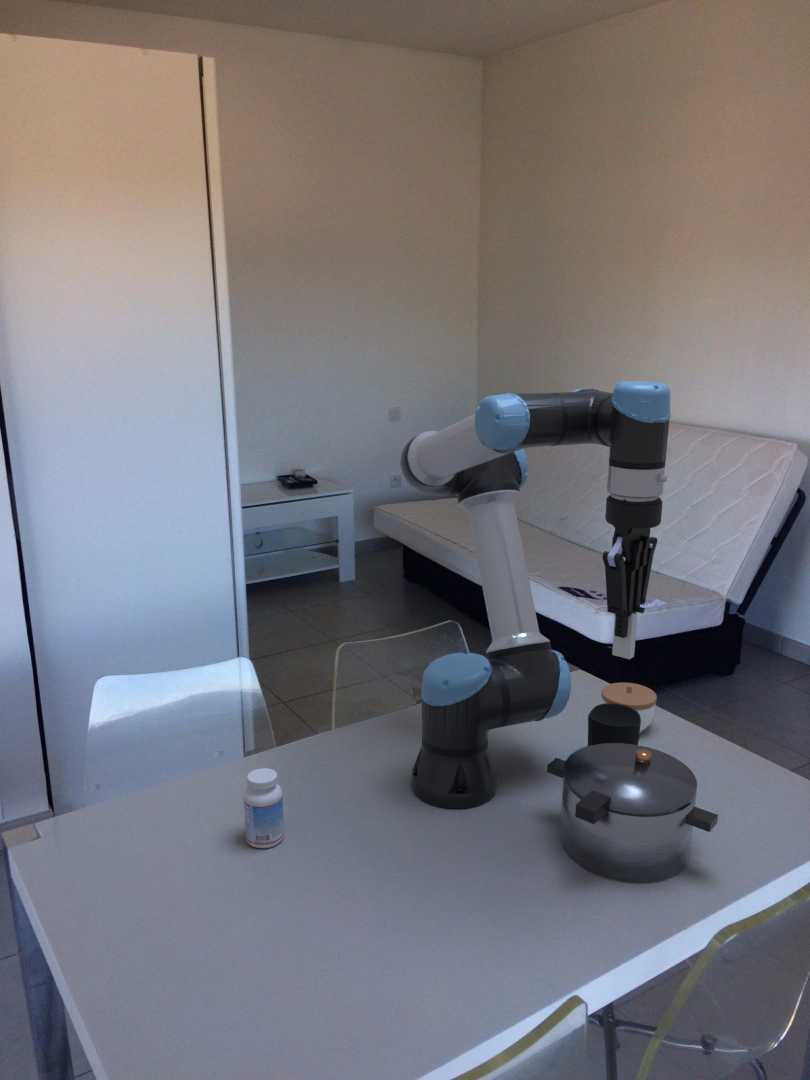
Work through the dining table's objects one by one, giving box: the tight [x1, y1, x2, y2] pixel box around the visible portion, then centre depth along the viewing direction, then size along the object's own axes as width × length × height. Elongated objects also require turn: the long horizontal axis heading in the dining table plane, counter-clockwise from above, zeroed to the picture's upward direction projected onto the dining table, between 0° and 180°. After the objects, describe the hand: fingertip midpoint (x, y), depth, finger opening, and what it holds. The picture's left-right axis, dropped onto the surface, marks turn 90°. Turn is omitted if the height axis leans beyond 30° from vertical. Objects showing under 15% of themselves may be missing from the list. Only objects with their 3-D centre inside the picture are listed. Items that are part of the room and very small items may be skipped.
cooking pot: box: [546, 757, 719, 884], centre depth 138 cm, size 27×20×11 cm
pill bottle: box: [243, 767, 285, 849], centre depth 139 cm, size 6×6×11 cm
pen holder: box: [587, 703, 641, 746], centre depth 162 cm, size 9×9×10 cm
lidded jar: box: [600, 682, 658, 735], centre depth 176 cm, size 11×11×9 cm
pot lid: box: [563, 743, 698, 824], centre depth 134 cm, size 20×24×3 cm
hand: (623, 655), depth 127 cm, fingers closed
